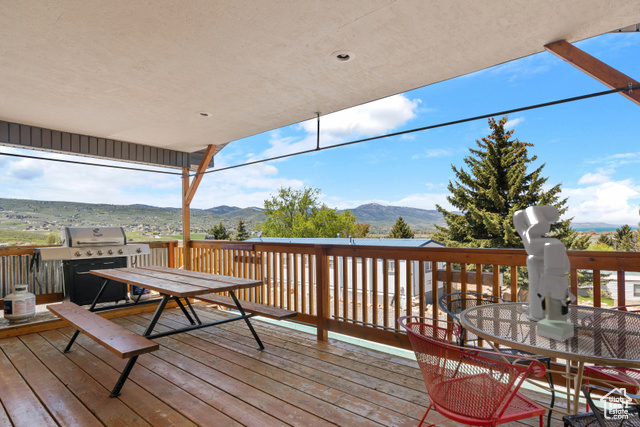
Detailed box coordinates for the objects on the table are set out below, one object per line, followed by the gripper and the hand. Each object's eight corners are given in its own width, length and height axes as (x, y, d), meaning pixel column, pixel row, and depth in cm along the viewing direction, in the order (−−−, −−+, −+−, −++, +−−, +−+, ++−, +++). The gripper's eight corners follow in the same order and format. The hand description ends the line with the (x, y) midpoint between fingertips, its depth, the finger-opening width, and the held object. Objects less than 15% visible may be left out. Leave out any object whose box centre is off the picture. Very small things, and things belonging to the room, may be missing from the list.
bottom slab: (536, 335, 155) (536, 328, 155) (548, 330, 160) (548, 323, 160) (561, 343, 146) (561, 336, 146) (573, 337, 151) (573, 330, 151)
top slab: (536, 329, 154) (536, 322, 154) (548, 323, 160) (548, 317, 160) (562, 336, 146) (562, 329, 146) (573, 330, 151) (573, 323, 151)
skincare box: (561, 317, 154) (561, 289, 153) (564, 321, 150) (564, 292, 149) (544, 316, 156) (544, 289, 155) (547, 320, 152) (547, 292, 151)
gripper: (528, 269, 157) (529, 308, 158) (572, 276, 142) (572, 319, 143) (538, 266, 161) (538, 304, 162) (582, 273, 146) (581, 315, 147)
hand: (554, 311), depth 153 cm, fingers closed on skincare box, 7 cm apart
